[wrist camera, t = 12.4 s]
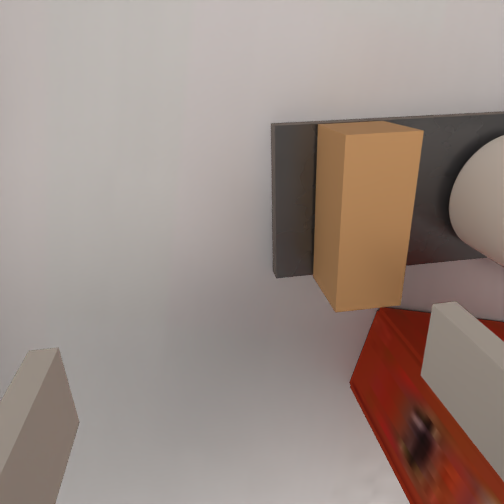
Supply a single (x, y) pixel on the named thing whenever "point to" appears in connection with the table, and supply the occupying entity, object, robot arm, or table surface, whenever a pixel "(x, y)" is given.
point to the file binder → (419, 416)
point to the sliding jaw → (364, 211)
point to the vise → (426, 197)
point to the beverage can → (481, 201)
